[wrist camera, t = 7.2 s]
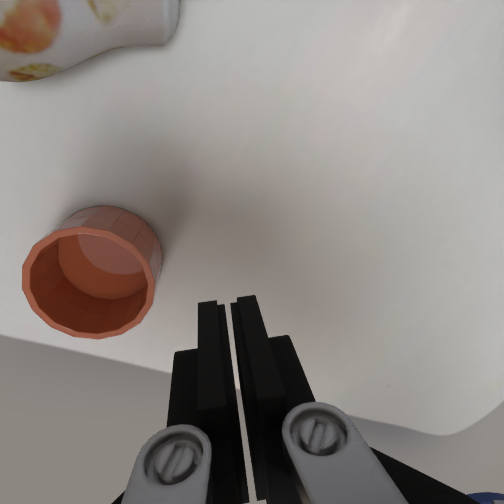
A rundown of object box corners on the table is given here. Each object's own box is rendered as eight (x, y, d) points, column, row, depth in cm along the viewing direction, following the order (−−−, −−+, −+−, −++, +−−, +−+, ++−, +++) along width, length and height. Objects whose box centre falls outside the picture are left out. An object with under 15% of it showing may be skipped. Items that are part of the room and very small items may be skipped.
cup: (173, 289, 25) (167, 324, 21) (76, 309, 24) (50, 350, 20) (146, 196, 22) (134, 215, 18) (37, 217, 22) (-1, 242, 18)
